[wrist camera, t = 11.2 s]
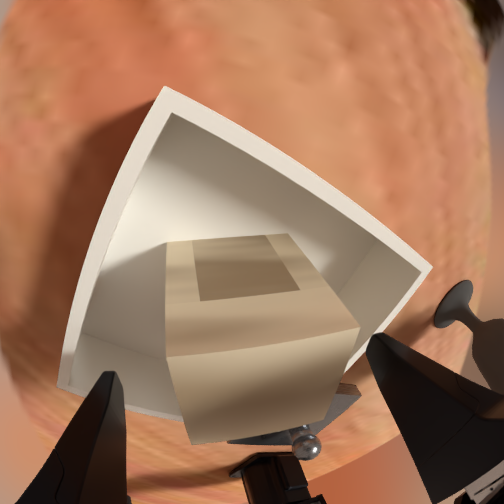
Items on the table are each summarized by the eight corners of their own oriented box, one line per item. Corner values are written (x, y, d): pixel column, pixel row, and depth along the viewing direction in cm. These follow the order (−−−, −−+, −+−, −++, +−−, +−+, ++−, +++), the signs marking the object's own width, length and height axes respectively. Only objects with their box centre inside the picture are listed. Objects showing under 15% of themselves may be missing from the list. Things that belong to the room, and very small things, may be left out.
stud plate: (298, 434, 24) (314, 474, 20) (224, 431, 20) (236, 480, 16) (355, 385, 21) (380, 428, 17) (282, 374, 18) (306, 433, 14)
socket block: (278, 322, 15) (323, 419, 10) (179, 334, 14) (191, 445, 9) (287, 233, 12) (360, 326, 7) (167, 241, 11) (166, 356, 6)
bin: (261, 381, 18) (279, 431, 15) (73, 327, 13) (56, 387, 9) (383, 228, 14) (433, 267, 11) (170, 93, 9) (164, 85, 6)
